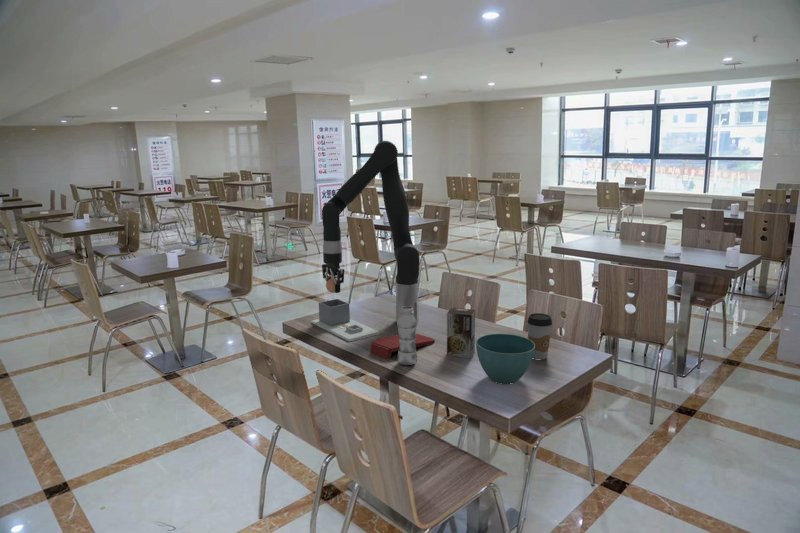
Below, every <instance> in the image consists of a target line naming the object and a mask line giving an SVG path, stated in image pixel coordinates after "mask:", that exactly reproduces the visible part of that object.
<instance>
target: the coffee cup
mask: <svg viewBox="0 0 800 533" xmlns="http://www.w3.org/2000/svg"><path fill="white" fill-rule="evenodd" d="M552 321H553V320H552V316H550V315H549V314H547V313H539V312H538V313H537V312H536V313H534V312H533V313H530V314H529V316H528V318H527V330H528V331H527V339H529V340H531V341H532V342H534V344H535V351H534V355H533V358H534V359H545V358H546V359H547V358H548V355H549V354H548V353H549V347H550V341H551V332H552V325H553V322H552ZM534 359H533V360H534ZM546 359H545V360H546Z"/></svg>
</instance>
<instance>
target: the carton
mask: <svg viewBox="0 0 800 533" xmlns="http://www.w3.org/2000/svg"><path fill="white" fill-rule="evenodd" d="M435 342H436V340H435V339H434V338H433V337H431V336H426V335H423V334H419V333H415V346H416V348H419V347H424V346H428V345H429V346H430V345H433V344H435ZM370 346H371V347H370V355H372V356H374V357H379V358H381V359H383V358H384V360H386V361H387V360H389V359H391V358H392V353H394V352H398V351H399V334H396V335H389V336H383V337H377V338H376V339H375V340H372V342H371V345H370Z"/></svg>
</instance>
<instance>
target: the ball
mask: <svg viewBox="0 0 800 533" xmlns="http://www.w3.org/2000/svg"><path fill="white" fill-rule="evenodd" d="M336 280H337V279H336ZM325 283H326V282H325ZM341 284H342V283H341ZM341 284H340V287H341ZM325 287H326V288H325V289H326V290H327V291H328V292H329V293H334V294H336V293H335V282H334V279H333V278H331V279H329V280H328V281H327V283H326V284H325Z"/></svg>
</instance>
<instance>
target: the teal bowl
mask: <svg viewBox="0 0 800 533" xmlns="http://www.w3.org/2000/svg"><path fill="white" fill-rule="evenodd" d="M475 347H476V353H477V358H478V361H479V364H480V366H481V368H482V370H483V371H484V373H485V374H486V376H487V377H488V378H489V379H490V380H491V381H492V382H493V381H494V382H493V383H495V382H497V383H496V384H498V383H502V384H501V385H511V384H510V383H513V384H515V383H517V382H518V381H519V380H520V379H521V378H523V376H524V375H525V374H526V372H527V371H528V369H529V367H530V365H531V363H532V362H533V359H532V358H533V355H534V351H535V344H534V342H532V341H531V340H529V339H528V337H525V336H521V335H518V334H512V333H511V334H510V333H491V334H485V335H482V336H480V337H478V338H477V339H475Z"/></svg>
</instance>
